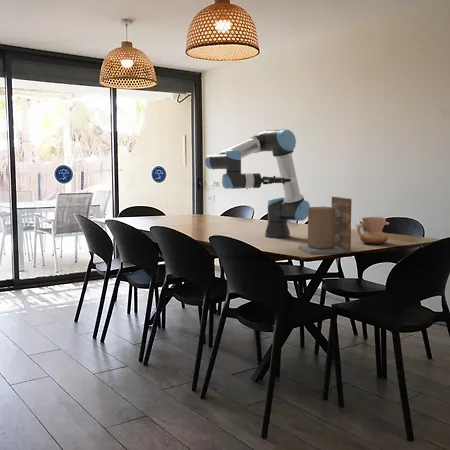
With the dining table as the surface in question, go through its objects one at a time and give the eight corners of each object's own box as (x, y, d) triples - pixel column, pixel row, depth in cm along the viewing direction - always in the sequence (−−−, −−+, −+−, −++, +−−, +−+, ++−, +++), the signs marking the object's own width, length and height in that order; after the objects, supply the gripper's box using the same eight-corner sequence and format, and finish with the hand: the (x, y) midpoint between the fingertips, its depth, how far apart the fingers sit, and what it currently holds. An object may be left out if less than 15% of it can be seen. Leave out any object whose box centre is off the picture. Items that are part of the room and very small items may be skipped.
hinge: (373, 237, 309) (367, 221, 309) (365, 239, 310) (360, 224, 309) (366, 233, 326) (361, 218, 325) (359, 236, 326) (353, 221, 326)
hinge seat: (310, 254, 250) (310, 250, 250) (298, 248, 268) (298, 245, 268) (345, 252, 253) (345, 249, 253) (331, 247, 271) (331, 244, 271)
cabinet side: (344, 253, 252) (345, 198, 249) (328, 247, 272) (329, 196, 269) (350, 252, 253) (351, 198, 250) (334, 246, 272) (335, 196, 270)
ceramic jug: (382, 241, 292) (382, 215, 291) (394, 244, 278) (394, 217, 277) (351, 242, 290) (351, 217, 289) (362, 246, 276) (362, 219, 274)
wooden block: (319, 249, 254) (319, 208, 252) (306, 247, 263) (307, 207, 260) (335, 248, 258) (336, 207, 256) (323, 245, 267) (323, 206, 265)
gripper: (246, 187, 282) (284, 185, 286) (258, 189, 258) (300, 187, 262) (246, 173, 281) (284, 172, 285) (258, 173, 257) (300, 172, 261)
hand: (292, 179), depth 274 cm, fingers open, 13 cm apart
